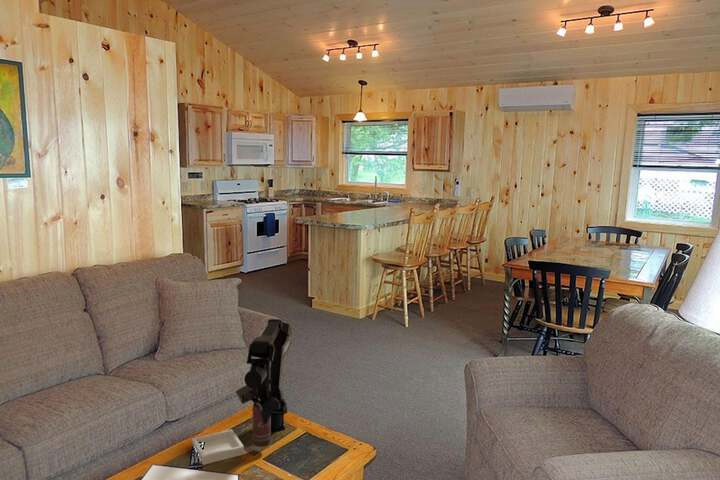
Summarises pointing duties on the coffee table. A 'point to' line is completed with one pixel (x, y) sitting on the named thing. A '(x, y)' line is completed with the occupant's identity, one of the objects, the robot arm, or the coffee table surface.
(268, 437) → the can
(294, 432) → the coffee table surface
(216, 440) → the tray
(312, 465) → the coffee table surface
